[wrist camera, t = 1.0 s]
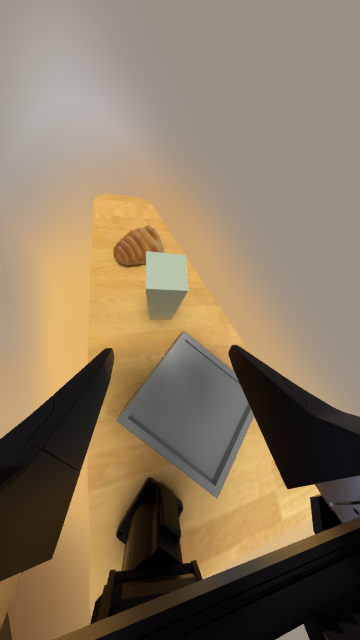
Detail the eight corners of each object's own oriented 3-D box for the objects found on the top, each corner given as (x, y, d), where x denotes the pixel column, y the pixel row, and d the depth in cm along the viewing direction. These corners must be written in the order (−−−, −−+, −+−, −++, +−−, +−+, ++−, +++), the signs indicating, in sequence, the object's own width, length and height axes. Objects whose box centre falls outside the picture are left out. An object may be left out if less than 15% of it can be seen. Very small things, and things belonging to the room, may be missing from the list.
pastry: (127, 276, 25) (122, 264, 21) (107, 250, 25) (99, 233, 22) (166, 255, 27) (168, 241, 24) (147, 232, 28) (146, 214, 24)
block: (171, 319, 24) (188, 290, 12) (149, 319, 24) (145, 288, 12) (170, 299, 25) (185, 255, 13) (149, 298, 24) (146, 251, 13)
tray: (211, 484, 20) (217, 498, 18) (120, 413, 20) (116, 420, 18) (254, 390, 25) (263, 394, 23) (182, 332, 24) (184, 331, 22)
